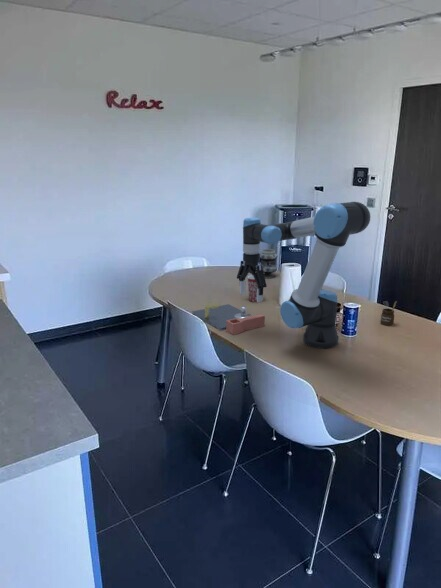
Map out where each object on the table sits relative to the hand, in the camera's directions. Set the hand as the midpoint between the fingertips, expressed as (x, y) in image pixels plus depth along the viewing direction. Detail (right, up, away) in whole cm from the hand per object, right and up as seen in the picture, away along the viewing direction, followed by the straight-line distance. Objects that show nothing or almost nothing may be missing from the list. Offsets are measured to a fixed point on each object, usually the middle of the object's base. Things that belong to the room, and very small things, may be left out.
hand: (250, 297), depth 211 cm
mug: (+6, -1, +46) cm, 46 cm away
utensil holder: (+66, -13, +8) cm, 67 cm away
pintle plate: (-12, -10, +17) cm, 23 cm away
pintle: (-3, -9, +15) cm, 18 cm away
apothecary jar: (+17, +13, +93) cm, 95 cm away
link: (-2, -14, +3) cm, 15 cm away
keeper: (-18, -11, +14) cm, 26 cm away
